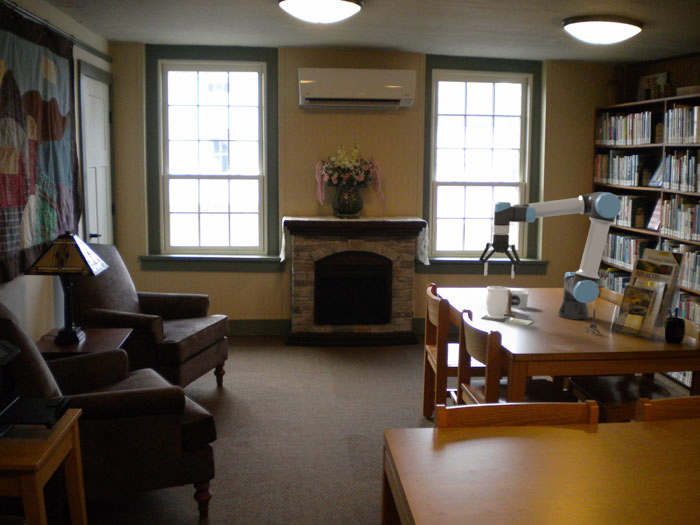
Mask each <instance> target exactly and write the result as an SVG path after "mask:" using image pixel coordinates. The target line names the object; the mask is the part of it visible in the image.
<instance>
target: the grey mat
mask: <svg viewBox="0 0 700 525" xmlns="http://www.w3.org/2000/svg"><path fill="white" fill-rule="evenodd" d="M487 315H488V313H487V314H485V315H484V316H481V318H480V319H481V320H484V321H492V322H500V323H505V321H507V320H509V319H510V317H508V316H505V318H503V319H493V318H489V317H487Z"/></svg>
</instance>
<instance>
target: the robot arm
mask: <svg viewBox="0 0 700 525" xmlns="http://www.w3.org/2000/svg"><path fill="white" fill-rule="evenodd" d="M494 204H495V205H494V212H493V213H494V215H493V216H494V217H493V238H492V243H491V242H486V244H485V248H484V250H483V251H482V253H481V255H480V257H479V258H478V260H479V262H482V270H483V271H484V272H483V276H484V277H487V276H488V267H489V262H488V260H489V259H490V258H491V257H492V256H493V255H494V254H495V253H496V254H499V253H500V254H505V255H506V257H507V258H508V259H509V260H510V262H511V263H512V265H511V278H510V279H515V272H517V271H518V268H517V267H518V265H520V264H522V261H521V259H520V257H519V255H518V252H517V249H516V244H510V243H509V242H510V234H509V233H510V227H511V226H510V223H534V222H535V220H536V219H538V218H544V217H545V218H546V217H555V216H556V217H557V216H564V215H572V214H573V215H574V214H580V215H589V217H588V218H589V220H590V226H589V230H588V235H587V239H586V242H585V246H584V250H583V254H582V257H581V261H580V266H579V269H578V270H576V271H566V272H565V273H564V278H563V280H564V283H563V295H562V301H561V304H560V306H559V309H558V312H557V316H559V317H560V316H561V318H563V317H564V318H565V319H568V318H570V319H569V320H577V319H584V320H588V319H590V312H589V307H588V304H589V303H592V302H594V301H595V300H597V298H598V297H599V295H600V289H599V288H600V287H599V282H600V279H601V278H600V276H599V274H598V272H599V269H600V265H601V261H602V257H603V254H604V249H605V244H606V242H607V237H608V234H609V230H610V227H611V225H613V224H614V223H615V219H616V217H617V216H618V215H619V213H620V211H621V209H622V203H621V200H620V199H619V197H618V196H617V195H616V194H614V193H612V192H604V191H598V192H597V191H596V192H592V193H587V194H582V195H579V196H578V197H574V198H573V197H572V198H565V199H558V200H557V199H556V200H555V199H554V200H548V201H539V202H532V203H524V204H519V203H518V204H514V205H512V204H511V202H508V201H497V202H495V203H494ZM491 248H492V250H491V251H490V253H489V249H491ZM509 249H510V250H511V252H510V251H509ZM487 253H488V254H487ZM511 253H512V254H511ZM513 256H514V257H513ZM564 318H563V319H564ZM587 318H588V319H587Z"/></svg>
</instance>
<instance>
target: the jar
mask: <svg viewBox="0 0 700 525" xmlns="http://www.w3.org/2000/svg"><path fill="white" fill-rule="evenodd" d="M507 287H508V286H501V285H489V286H487V287H486V290H487V292H486V298H485V303H486V304H485V305H486V311H487V314H488V315H487V314H486V315H487V317H489V318H493V319H503V318H505V316H504V313H505V311H506V308H507V304H508V293H507V291H508V290H509V289H510V288H509V287H508V288H507Z"/></svg>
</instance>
